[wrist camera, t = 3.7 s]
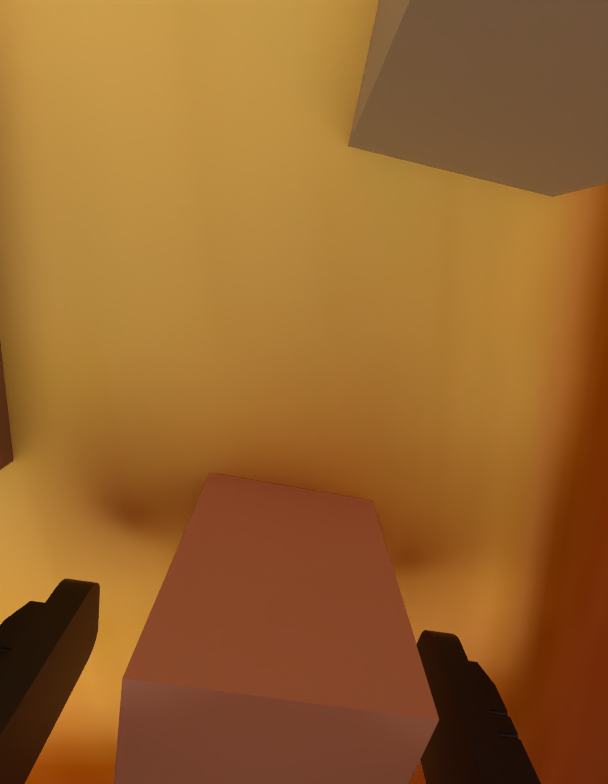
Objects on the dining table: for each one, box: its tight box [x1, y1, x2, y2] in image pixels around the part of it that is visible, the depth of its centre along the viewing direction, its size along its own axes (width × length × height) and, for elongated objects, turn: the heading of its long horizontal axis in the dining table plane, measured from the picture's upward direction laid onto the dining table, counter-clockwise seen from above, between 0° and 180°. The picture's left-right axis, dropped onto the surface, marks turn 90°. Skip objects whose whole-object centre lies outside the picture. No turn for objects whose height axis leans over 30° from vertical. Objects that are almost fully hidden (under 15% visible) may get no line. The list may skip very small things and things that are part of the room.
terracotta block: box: [114, 473, 439, 784], centre depth 10 cm, size 5×5×6 cm
